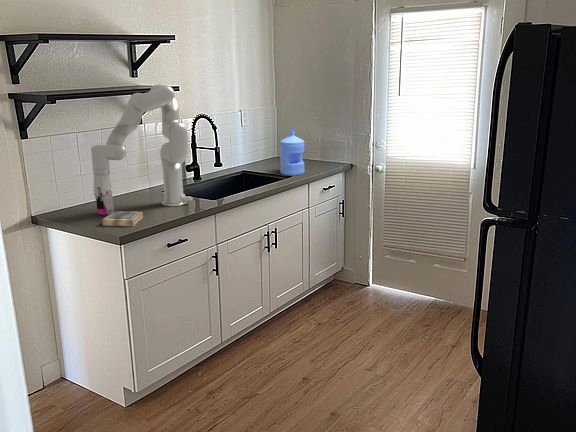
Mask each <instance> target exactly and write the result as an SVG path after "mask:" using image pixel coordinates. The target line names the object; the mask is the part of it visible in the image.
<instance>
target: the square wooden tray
mask: <svg viewBox="0 0 576 432" xmlns="http://www.w3.org/2000/svg"><path fill="white" fill-rule="evenodd" d="M143 218H144V212H143V211H125V210H124V211H117V210H116V211H115V210H114V212H112V213H111V214H109V215H107V216H104V218H102V219H101V221H102V226H103V227H104V226H105V227H134V226H135V225H137V224H138V223H139V222H140V221H141V220H142V219H143ZM138 221H139V222H138Z"/></svg>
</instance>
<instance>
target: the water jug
mask: <svg viewBox="0 0 576 432" xmlns="http://www.w3.org/2000/svg"><path fill="white" fill-rule="evenodd" d="M295 130H296V129H294V128H293V129H292V128H291V129H289V136H287V137H285V138H283V139H281V140H280V141H279V142H280V143H279V148H280V150H279V151H280V153H279V154H280V155H279V156H280V157H279V159H280V171H279V172H280V174H282V175H283V176H301V175H304V174H305V172H306V171H305V161H303V153H304V152H305V140H304V139H301V138H300V137H298V136H296V135H295V133H296V132H295Z"/></svg>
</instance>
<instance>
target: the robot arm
mask: <svg viewBox="0 0 576 432" xmlns="http://www.w3.org/2000/svg"><path fill="white" fill-rule="evenodd" d="M175 93H176V92H175V91H174V89H173V87H171V86H169V85H167V84H166V85H165V84H154V85H152V86H151V88H150V90H149V91H148V92H144V93H142V92H135V93H133V94H132V95H131V96H130V97H129V100H128V102H127V103H126V106H125V108H124V110H123V112H122V115H121V117H120V120H119V121H118V122H117V124H116V125H115V127H114V128H113V129H112V131H111V132H110V134H109V136H108V138H107V141H106V143H105V144H96V145H92V146H91V148H90V152H91V153H90V155H91V161H92V163H91V164H92V174H93V195H94V197H95V202H96V209H104V202H103V201H102V200H103V196H105V195H106V192H107V191H109V190H110V191H112V184H111V177H110V175H111V169H110V167H111V166H110V161H121V160H124V158H125V157H126V156H127V150H126V148H125V146H123V144H124V142H125V141H126V139H127V137H128V136H129V135H130V134H132V133H133V132H135V131H136V130H137V128H138V126H139V124H140V122H141V121H142V117H143V116H144V113H148V112H151V111H154V110H156V109H159V108H160V110H161V133H162V136H163V137H164V138H165V139H167V140H168V142H167V141H166V142H164V143H163V144H162V145H161V147H160V150H159V153H160V161H161V168H162V177H163V191H164V200H162V201H161V205H162V206H166V207H181V206H183V205H186V204H187V202H188V201H189V202H190V201H191V202H192V199H193V198H192V196H190V195H189V196H186V194H185V193H184V187H183V186H184V184H183V168H182V164H183V163H184V162H186V160H187V158H188V152H189V150H188V149H189V146H188V145H189V141H188V140H189V138H188V136H189V134H188V129H187V127H186V125H185V124H184V123H182V122H180V107H179V104H178V101H177V99H176V98H175V96H176V94H175ZM101 193H102V195H99V194H101ZM100 197H101V198H100Z"/></svg>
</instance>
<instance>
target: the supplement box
mask: <svg viewBox="0 0 576 432" xmlns="http://www.w3.org/2000/svg"><path fill="white" fill-rule="evenodd" d="M99 195H102V193H101V194H99ZM100 198H101V197H100ZM102 201H103V202H104V209H97V208H96V209H97V210H96V211H97V215H98V216H102V217H107V216H108V215H109V214H111V213H112V212H114V211H115V208H114V198H113V191H112V190H111V191H110V190H109V191H107V192H106V195H105V196H103V200H102Z"/></svg>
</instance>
